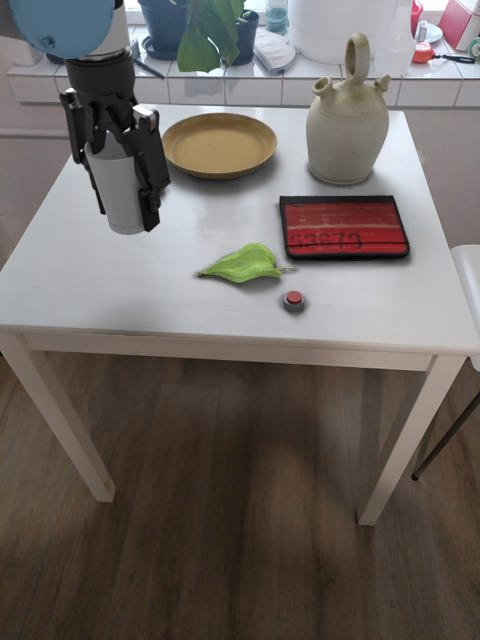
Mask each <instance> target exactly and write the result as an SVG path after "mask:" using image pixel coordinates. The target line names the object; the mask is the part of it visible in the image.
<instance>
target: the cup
mask: <svg viewBox="0 0 480 640" xmlns="http://www.w3.org/2000/svg"><path fill="white" fill-rule="evenodd" d="M127 131H128V130H125V131H124V132H123V134H124V133H125V132H127ZM84 150H85V153H86V156H87V159H88V162H89V165H90V168H91V170H92V173H93V176H94V179H95V182H96V185H97V188H98V191H99V194H100V197H101V200H102V203H103V206H104V209H105V212H106V215H105V216H106V218H107V223H108V226H109V228H110V230H111V231H112V232H114V233H115V234H119V235H123V236H134V235H137V234H141V233H143V232H146V231H145V230H144V224H143V219H142V213H141V207H140V201H139V196H138V191H139V190H140V189H141V188H142V187H141V185H140V183H139V181H138V179H137V177H136V174H135V168H134V157H132V156H131V157H127V155H126V153H125V151H124V149H123V147H122V145H121V144H119V143H117V141H116V139H115V137H114V135H113V133H111V132H109V131H108V130H107V133H106V141H105V147H104V148H103V150H102V151H101V152H99V153H98V154H95V155H93V154H92V151H91V147H90V144H89V142H86V144H85V147H84ZM141 153H142V152H141ZM141 153H140V154H141ZM140 154H139V155H140Z"/></svg>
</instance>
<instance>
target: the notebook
mask: <svg viewBox="0 0 480 640" xmlns="http://www.w3.org/2000/svg"><path fill="white" fill-rule="evenodd" d="M278 200H279V201H278V202H279V203H278V205H279V213H280V221H281V222H280V223H281V231H282V237H283V239H282V240H283V244H284V246H283V248H284V251H285V254H286V256H287V257H288V258H289V259H290V260H293V261H296V262H367V261H371V262H372V261H390V260H401V259H405V258H407V257H408V256H409V255H410V254H411V244H410V242H409V239H408V236H407V232H406V229H405V227H404V223H403V220H402V216H401V214H400V211H399V208H398V205H397V202H396V198H395V196H394V195H393V194H373V195H372V194H369V195H368V194H366V195H364V194H363V195H361V194H360V195H358V194H357V195H354V194H353V195H279V199H278Z"/></svg>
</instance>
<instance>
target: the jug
mask: <svg viewBox="0 0 480 640" xmlns="http://www.w3.org/2000/svg"><path fill="white" fill-rule="evenodd" d="M370 66H371V47H370V42H369V39H368V37H367V35H366V34H365V33H363V32H355V33H353V34H352V35H351V36H350V37H349V38H348V40H347V43H346V46H345V52H344V70H345V74H346V77H345V79H344V80H343V81H340V82H336V83H334V84H333V78H332V77H331V76H328V75H326V76H322V77H320V78H319V79H318V80H317V81H315V82H314V83H313V85H312V88H311V92H312V93H313V94H314V95H315V96H316V97H314V99H313V101H312V103H311V105H310V107H309V110H308V112H307V115H306V122H305V138H306V140H305V141H306V148H307V160H308V167H309V171H310V173H311V174H312V175H313V176H314V177H315V178H317V179H318V180H320V181H321V182H323V183H326V184H330V185H333V186H334V185H335V186H352V185H355V184H358V183H361V182H363V181H364V180H366V179H367V178H368V176H369V175H370V173H371V172H372V169H373V167H374V166H375V163H376V161H377V159H378V157H379V155H380V154H381V151H382V149H383V146H384V144H385V142H386V139H387V138H388V133H389V127H390V114H389V113H390V112H389V108H388V106H387V103H386V100H385V98H384V96H383V95H384V93H386V92H388V90H389V84H390V82H391V79H392V77H391V75H390V74H388V73H386V74H384V75H382V76H381V77H379V78H376V79H374V83H373V84H371V85H370V84H366V83H365V81H366V80H367V78H368V75H369V72H370Z"/></svg>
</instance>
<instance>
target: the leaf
mask: <svg viewBox="0 0 480 640" xmlns="http://www.w3.org/2000/svg"><path fill="white" fill-rule="evenodd" d="M276 262H277V258H276V256H275V254H274V253H273V251H272V250H270V248H269V247H268V246H266V245H264V244H262V243H259V242H250V243H247V244H245V245H244V246H243V247H241V248H240V250H239V251H238V252H235V253H233V254H231V255H228V256H225V257H224V258H222V259H221V260H219V261H217V262H216V263H214V264H213V265H212V266H210V267H209V268H207V269H206V270H204V271H202V272H198V273H197V277H200V276H202V275H208V276H218V277H221V278H224V279H226V280H227V281H230V282H233V283H236V284H242V283H245V282H248V281H250V280H253V279H256V278H260V277H261V278H262V277H272V278H275V279H280V278H281V277H282V272H281V271H280V270H283V269H287V270H294V269H295V267H291V266H281V267H278V268H276V267H274V265H275V263H276Z"/></svg>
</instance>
